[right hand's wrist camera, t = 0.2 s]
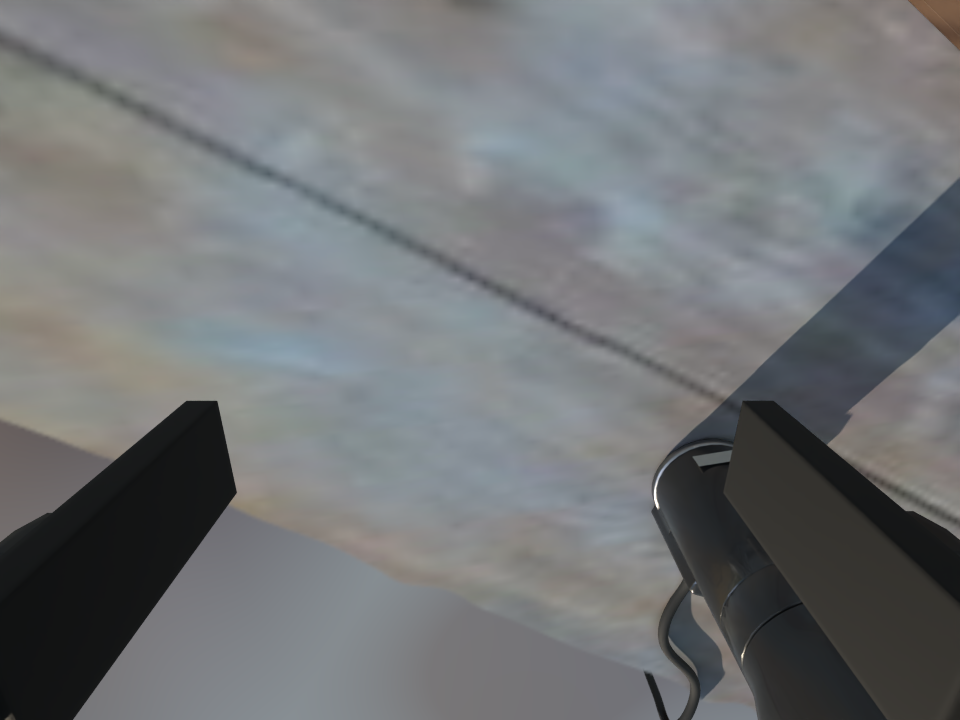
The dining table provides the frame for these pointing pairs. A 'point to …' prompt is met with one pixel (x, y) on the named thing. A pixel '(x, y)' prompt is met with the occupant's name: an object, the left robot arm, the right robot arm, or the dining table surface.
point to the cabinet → (942, 16)
